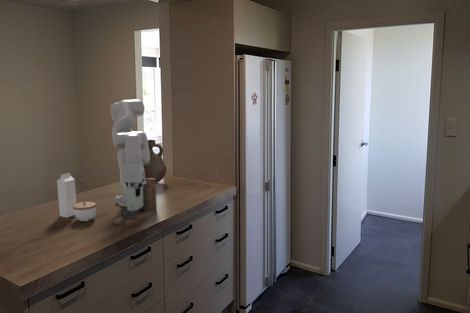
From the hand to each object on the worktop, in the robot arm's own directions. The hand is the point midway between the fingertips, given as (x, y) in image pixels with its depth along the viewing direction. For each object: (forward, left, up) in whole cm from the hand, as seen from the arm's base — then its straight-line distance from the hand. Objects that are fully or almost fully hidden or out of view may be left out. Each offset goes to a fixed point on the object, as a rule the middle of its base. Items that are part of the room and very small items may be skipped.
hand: (135, 195), depth 202 cm
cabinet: (0, 0, -11) cm, 11 cm away
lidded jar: (-23, -9, -12) cm, 27 cm away
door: (0, 0, -7) cm, 7 cm away
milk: (-35, -6, -12) cm, 37 cm away
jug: (-25, +66, -12) cm, 72 cm away
